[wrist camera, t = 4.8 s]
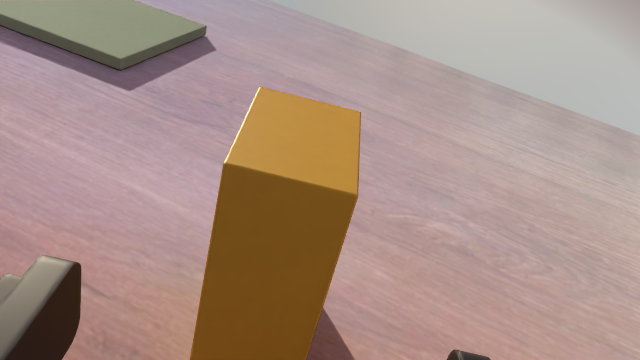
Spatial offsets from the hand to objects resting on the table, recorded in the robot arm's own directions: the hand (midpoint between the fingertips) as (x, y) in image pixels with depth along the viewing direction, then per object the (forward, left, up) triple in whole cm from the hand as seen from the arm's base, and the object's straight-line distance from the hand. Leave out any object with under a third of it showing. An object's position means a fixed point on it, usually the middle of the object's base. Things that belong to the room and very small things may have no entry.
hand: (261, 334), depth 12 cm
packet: (-3, +10, -10) cm, 15 cm away
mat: (-33, +36, -10) cm, 50 cm away
